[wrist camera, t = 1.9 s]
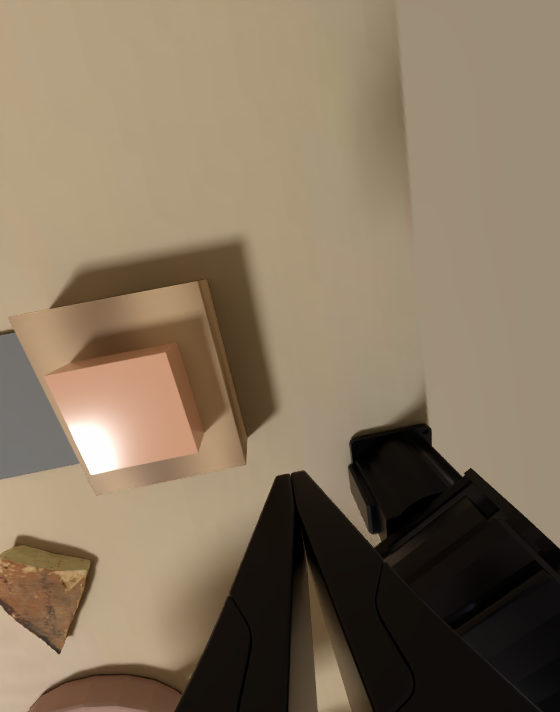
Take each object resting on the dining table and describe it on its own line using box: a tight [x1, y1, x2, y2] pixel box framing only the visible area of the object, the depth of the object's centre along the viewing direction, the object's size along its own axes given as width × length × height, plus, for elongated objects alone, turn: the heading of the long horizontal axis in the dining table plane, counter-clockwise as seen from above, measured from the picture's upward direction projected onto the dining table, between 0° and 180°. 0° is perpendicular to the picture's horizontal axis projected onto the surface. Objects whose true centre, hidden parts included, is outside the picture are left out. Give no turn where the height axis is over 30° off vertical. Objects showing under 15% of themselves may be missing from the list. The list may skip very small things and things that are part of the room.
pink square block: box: [44, 342, 204, 475], centre depth 15 cm, size 6×6×2 cm
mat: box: [0, 332, 79, 479], centre depth 19 cm, size 9×10×1 cm
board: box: [8, 279, 247, 496], centre depth 18 cm, size 10×12×3 cm
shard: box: [0, 545, 91, 654], centre depth 24 cm, size 11×8×2 cm
